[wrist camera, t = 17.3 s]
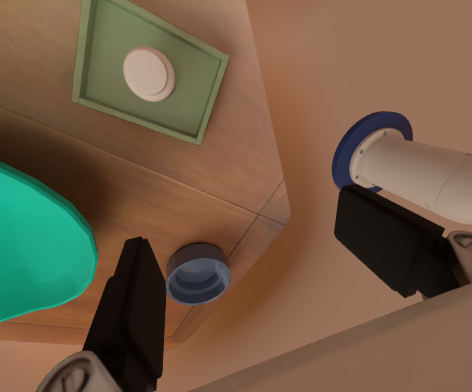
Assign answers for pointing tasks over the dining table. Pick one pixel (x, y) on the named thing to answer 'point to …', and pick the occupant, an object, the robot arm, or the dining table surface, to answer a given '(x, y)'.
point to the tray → (112, 77)
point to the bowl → (197, 274)
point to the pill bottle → (149, 74)
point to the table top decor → (40, 246)
